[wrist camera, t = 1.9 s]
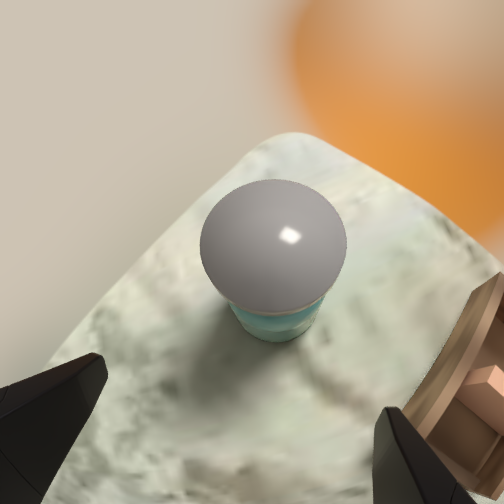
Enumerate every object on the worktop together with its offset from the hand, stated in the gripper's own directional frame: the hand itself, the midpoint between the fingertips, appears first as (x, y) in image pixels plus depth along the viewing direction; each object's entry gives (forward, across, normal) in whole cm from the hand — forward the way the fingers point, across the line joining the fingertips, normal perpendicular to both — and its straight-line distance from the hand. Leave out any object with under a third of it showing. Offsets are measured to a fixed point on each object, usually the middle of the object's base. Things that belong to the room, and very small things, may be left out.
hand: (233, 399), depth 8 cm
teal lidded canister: (+14, 0, +4) cm, 15 cm away
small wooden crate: (+10, -18, +8) cm, 23 cm away
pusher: (+8, -17, +9) cm, 21 cm away
